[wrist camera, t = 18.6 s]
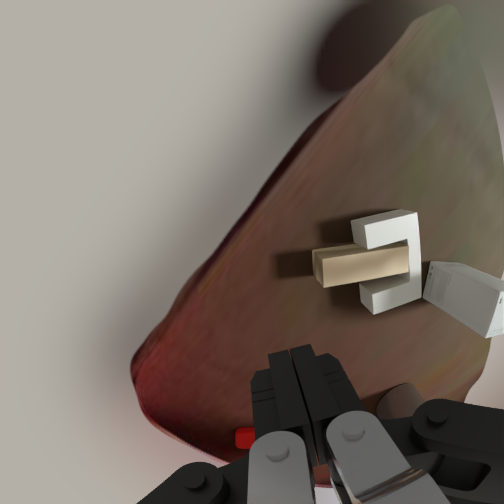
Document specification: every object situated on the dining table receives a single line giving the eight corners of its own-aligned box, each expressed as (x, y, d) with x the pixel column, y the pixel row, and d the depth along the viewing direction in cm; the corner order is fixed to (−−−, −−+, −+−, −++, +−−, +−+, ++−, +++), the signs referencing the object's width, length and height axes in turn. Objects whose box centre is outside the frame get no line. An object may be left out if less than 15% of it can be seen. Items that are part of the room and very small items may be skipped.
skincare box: (420, 297, 39) (482, 341, 24) (429, 257, 38) (499, 290, 23) (453, 297, 40) (512, 334, 25) (462, 260, 38) (526, 289, 23)
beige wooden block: (390, 262, 38) (408, 271, 33) (313, 274, 37) (323, 287, 33) (390, 238, 37) (408, 245, 32) (311, 249, 37) (322, 259, 32)
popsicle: (235, 425, 44) (235, 432, 42) (316, 421, 45) (319, 428, 43) (235, 442, 45) (235, 449, 43) (312, 438, 46) (313, 445, 44)
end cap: (405, 286, 39) (421, 297, 34) (360, 301, 39) (373, 314, 34) (399, 209, 36) (416, 212, 31) (350, 220, 36) (364, 225, 31)
